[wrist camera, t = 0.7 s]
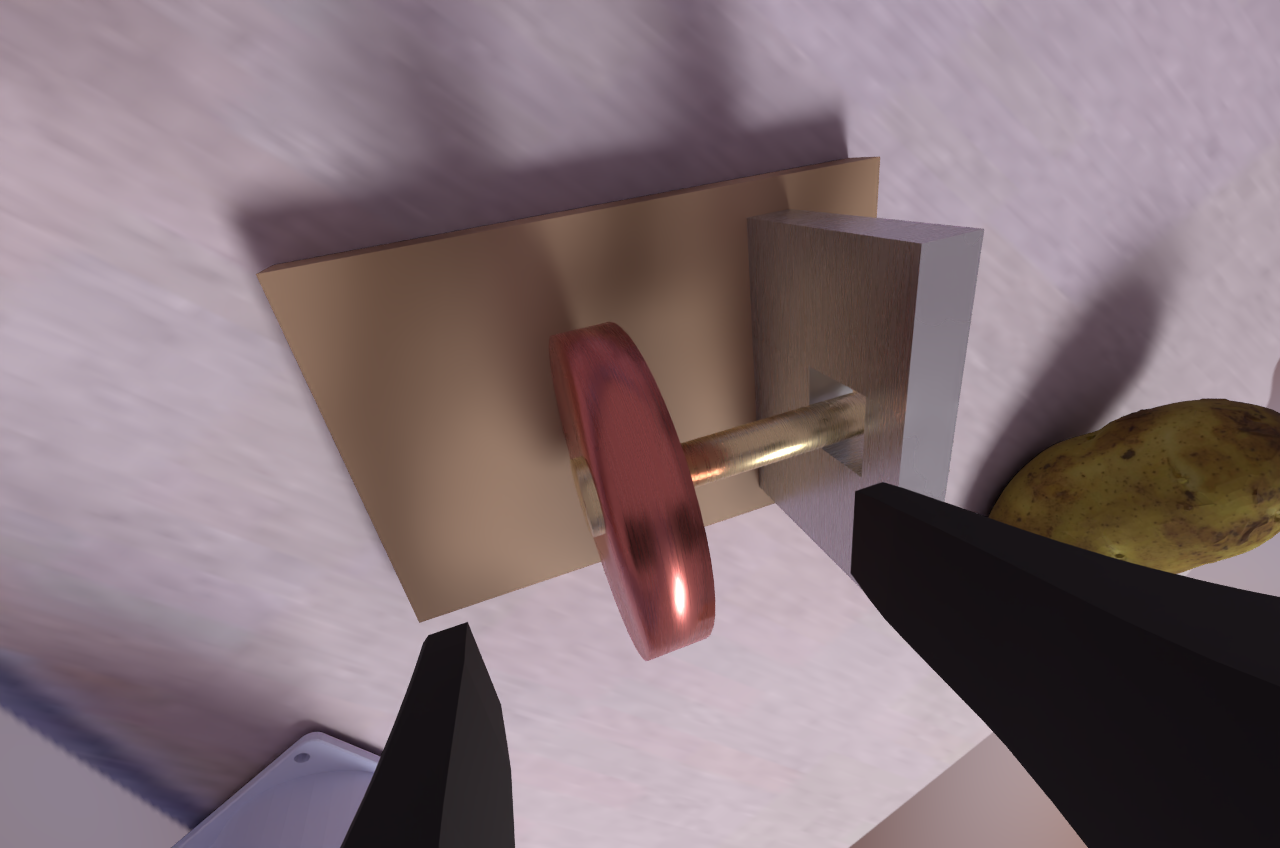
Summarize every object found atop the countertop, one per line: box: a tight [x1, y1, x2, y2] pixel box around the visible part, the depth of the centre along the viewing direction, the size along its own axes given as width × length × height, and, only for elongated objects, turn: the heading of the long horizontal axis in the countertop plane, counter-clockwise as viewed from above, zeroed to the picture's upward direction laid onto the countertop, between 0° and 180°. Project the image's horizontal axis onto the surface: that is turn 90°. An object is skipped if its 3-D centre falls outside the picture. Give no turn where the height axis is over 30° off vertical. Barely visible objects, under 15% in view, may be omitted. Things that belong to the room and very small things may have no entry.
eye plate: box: [747, 209, 984, 589], centre depth 16 cm, size 2×10×7 cm, turn 8°
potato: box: [988, 399, 1280, 574], centre depth 26 cm, size 8×13×8 cm, turn 118°
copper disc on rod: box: [549, 322, 866, 661], centre depth 14 cm, size 11×8×8 cm
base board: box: [256, 157, 880, 623], centre depth 18 cm, size 18×12×2 cm, turn 98°
